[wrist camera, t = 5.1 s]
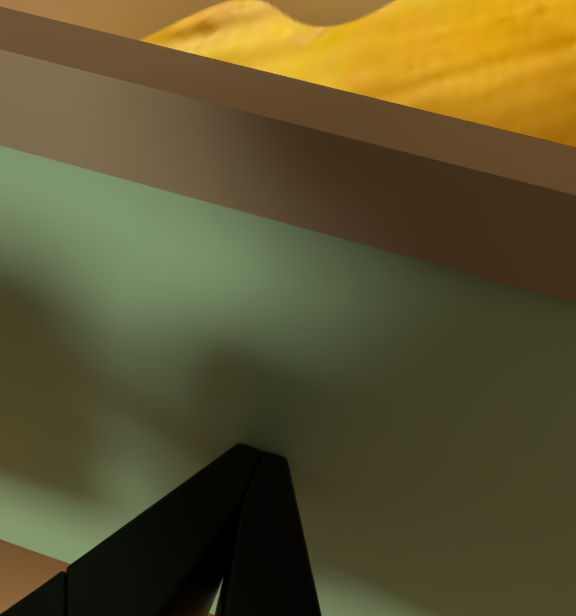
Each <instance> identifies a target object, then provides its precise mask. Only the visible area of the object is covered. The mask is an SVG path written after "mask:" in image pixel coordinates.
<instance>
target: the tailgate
mask: <svg viewBox="0 0 576 616" xmlns="http://www.w3.org/2000/svg"><path fill="white" fill-rule="evenodd" d="M237 443H243V444H246V445H249V446H253V447H256V448H259V449H260V450H261V454H262V453H263V452H264V451H268V452H272V453H275V454H278V455H281V456H284V457H286V458H287V460H288V463H289V468H290V472H291V477H292V481H293V486H294V490H295V495H296V500H297V504H298V509H299V513H300V518H301V522H302V527H303V532H304V536H305V541H306V545H307V550H308V554H309V559H310V564H311V568H312V573H313V577H314V582H315V587H316V591H317V596H318V600H319V605H320V609H321V614H322V616H576V148H575V147H571V146H567V145H563V144H559V143H555V142H551V141H547V140H543V139H538V138H534V137H530V136H526V135H522V134H518V133H514V132H510V131H506V130H502V129H498V128H494V127H489V126H485V125H481V124H477V123H473V122H469V121H465V120H461V119H457V118H453V117H449V116H445V115H440V114H436V113H432V112H428V111H424V110H420V109H416V108H412V107H408V106H404V105H400V104H396V103H391V102H387V101H383V100H379V99H375V98H371V97H367V96H363V95H359V94H355V93H351V92H346V91H342V90H338V89H334V88H330V87H326V86H322V85H318V84H314V83H310V82H306V81H302V80H297V79H293V78H289V77H285V76H281V75H277V74H273V73H269V72H265V71H261V70H257V69H253V68H248V67H244V66H240V65H236V64H232V63H228V62H224V61H220V60H216V59H212V58H208V57H203V56H199V55H195V54H191V53H187V52H183V51H179V50H175V49H171V48H167V47H163V46H159V45H154V44H150V43H146V42H142V41H138V40H134V39H130V38H126V37H122V36H117V35H114V34H109V33H105V32H101V31H97V30H93V29H88V28H85V27H81V26H77V25H73V24H69V23H65V22H60V21H56V20H52V19H48V18H44V17H40V16H36V15H32V14H28V13H24V12H20V11H15V10H11V9H7V8H3V7H0V539H1V540H4V541H7V542H10V543H12V544H15V545H18V546H21V547H24V548H27V549H29V550H32V551H35V552H38V553H41V554H44V555H46V556H49V557H52V558H55V559H58V560H61V561H63V562H66V563H69V564H72V563H73V562H74V561H76V560H77V559H79V558H80V557H81V556H83V555H84V554H85V553H87V552H88V551H90V550H91V549H92V548H94V547H95V546H96V545H98V544H99V543H101V542H102V541H103V540H105V539H106V538H107V537H109V536H110V535H112V534H113V533H114V532H116V531H117V530H118V529H120V528H121V527H123V526H124V525H125V524H127V523H128V522H129V521H131V520H132V519H134V518H135V517H136V516H138V515H139V514H140V513H142V512H143V511H145V510H146V509H147V508H149V507H150V506H151V505H153V504H154V503H156V502H157V501H158V500H160V499H161V498H162V497H164V496H165V495H167V494H168V493H169V492H171V491H172V490H173V489H175V488H176V487H178V486H179V485H180V484H182V483H183V482H184V481H186V480H187V479H189V478H190V477H191V476H193V475H194V474H195V473H197V472H198V471H200V470H201V469H202V468H204V467H205V466H206V465H208V464H209V463H211V462H212V461H213V460H215V459H216V458H217V457H219V456H220V455H222V454H223V453H224V452H226V451H227V450H228V449H230V448H231V447H233V446H234V445H235V444H237ZM222 581H223V580H222ZM221 585H222V583H221ZM220 589H221V586H220V588H219V591H218V593H217V596H216V598H215V600H214V603H213V605H212V607H211V609H210V611H209V613H211V614H215V610H216V605H217V601H218V597H219V593H220Z"/></svg>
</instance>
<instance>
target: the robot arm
mask: <svg viewBox="0 0 576 616" xmlns="http://www.w3.org/2000/svg"><path fill="white" fill-rule="evenodd" d="M222 580H223V581H222ZM221 583H222V585H221ZM220 586H221V589H220V593H219V597H218V601H217V605H216V610H215V614H214V616H322V614H321V609H320V605H319V600H318V596H317V591H316V587H315V582H314V577H313V573H312V568H311V564H310V559H309V554H308V550H307V545H306V541H305V536H304V532H303V527H302V522H301V518H300V513H299V509H298V504H297V500H296V495H295V490H294V486H293V481H292V477H291V472H290V468H289V463H288V460H287V458H286V457H284V456H281V455H278V454H275V453H272V452H268V451H264V452H263V453H262V454H261V450H260V449H259V448H256V447H253V446H249V445H246V444H243V443H237V444H235V445H234V446H233V447H231V448H230V449H228V450H227V451H226V452H224V453H223V454H222V455H220V456H219V457H217V458H216V459H215V460H213V461H212V462H211V463H209V464H208V465H206V466H205V467H204V468H202V469H201V470H200V471H198V472H197V473H195V474H194V475H193V476H191V477H190V478H189V479H187V480H186V481H184V482H183V483H182V484H180V485H179V486H178V487H176V488H175V489H173V490H172V491H171V492H169V493H168V494H167V495H165V496H164V497H162V498H161V499H160V500H158V501H157V502H156V503H154V504H153V505H151V506H150V507H149V508H147V509H146V510H145V511H143V512H142V513H140V514H139V515H138V516H136V517H135V518H134V519H132V520H131V521H129V522H128V523H127V524H125V525H124V526H123V527H121V528H120V529H118V530H117V531H116V532H114V533H113V534H112V535H110V536H109V537H107V538H106V539H105V540H103V541H102V542H101V543H99V544H98V545H96V546H95V547H94V548H92V549H91V550H90V551H88V552H87V553H85V554H84V555H83V556H81V557H80V558H79V559H77V560H76V561H74V562H73V563H72V564H70V565H69V566H68V567H67V568H66V573H65V572H64V571H60V572H59V573H57V574H56V575H55V576H53V577H52V578H51V579H49V580H48V581H47V582H45V583H44V584H43V585H41V586H40V587H38V588H37V589H36V590H34V591H33V592H31V593H30V594H28V595H27V596H26V597H24V598H23V599H21V600H20V601H18V602H17V603H15V604H14V605H13V606H11V607H10V608H8V609H7V610H5V611H4V612H2V613H1V614H0V616H208V614H209V611H210V609H211V607H212V605H213V603H214V600H215V598H216V596H217V593H218V591H219V588H220Z"/></svg>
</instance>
